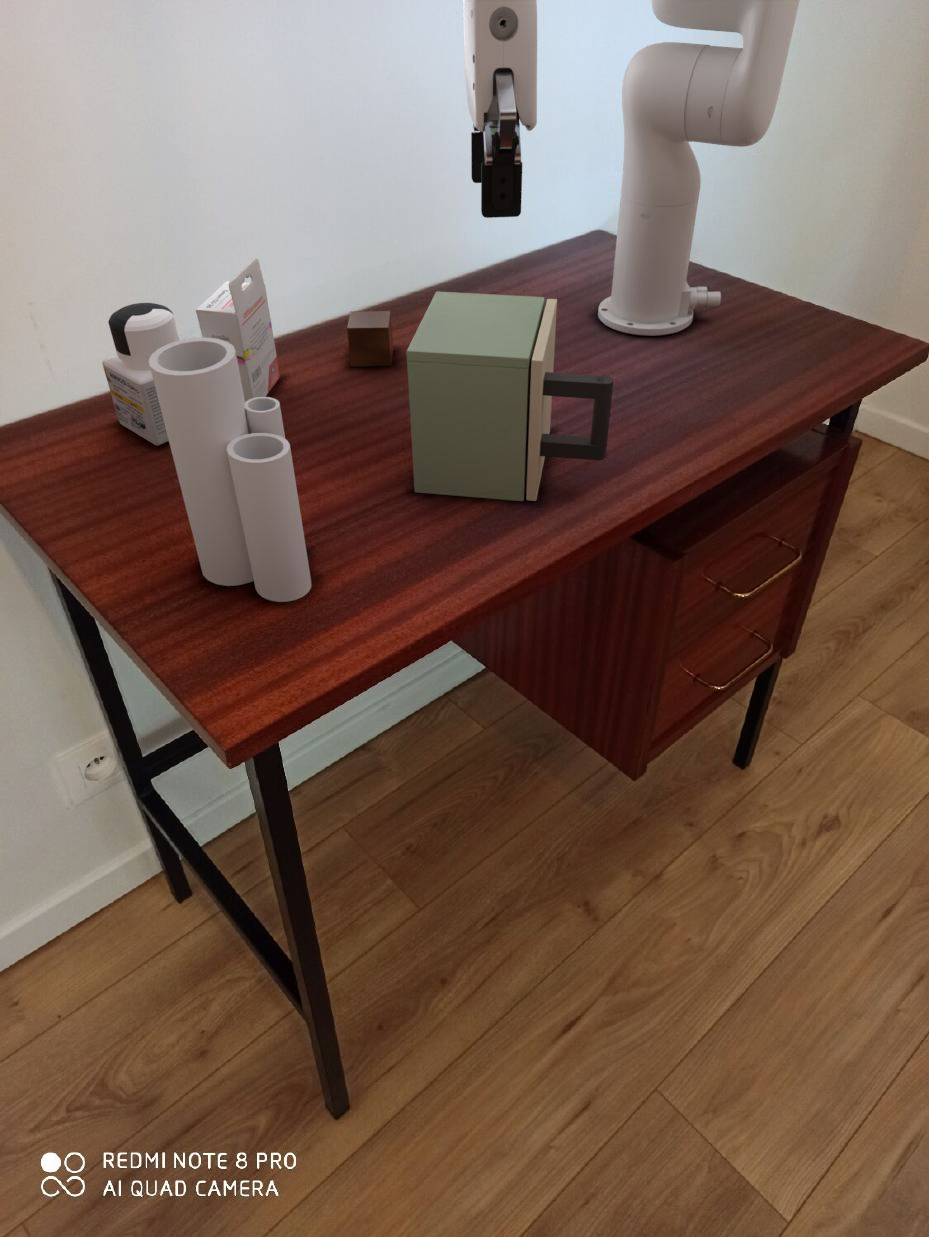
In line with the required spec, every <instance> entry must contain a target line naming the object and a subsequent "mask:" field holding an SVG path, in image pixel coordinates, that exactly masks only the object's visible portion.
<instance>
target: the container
mask: <svg viewBox="0 0 929 1237" xmlns="http://www.w3.org/2000/svg"><path fill="white" fill-rule="evenodd" d="M107 323H108V326H109V331H110V334H111V337H112V341H113V345H114V348H115V351H116V355H113V356H111V357H108V358H105V359H103V360H102V361H101V362H102V363H101V364H102V368H103V371H104V375H105V378H106V381H107V385H108V388H109V392H110V395H111V398H112V402H113V406H114V409H115V412H116V415H117V419H118V422H119V424H120V425H122V426H123V427H125V428H127V429H128V430H130V431H132V432H133V433H135V434H137V435H138V436H139V437H141V438H142V439H144V440H146V441H147V442H149V443H151V444H152V445H154V446H162V445H163V444H165V443H169V440H168V436H167V432H166V428H165V424H164V420H163V416H162V412H161V408H160V404H159V400H158V396H157V392H156V388H155V384H154V381H153V377H152V373H151V369H150V365H149V359H150V356H151V355H152V354H153V353H154V352H155V351H156V350H157V349H159V348H161V347H163V346H165V345H167V344H170V343H173V342H176V341H179V340H180V338H179V333H178V329H177V325H176V320H175V316H174V313H173V310H171V309H170V308H169V307H167V306H166V305H163V304H159V303H155V302H138V303H137V302H136V303H132V304H129V305H125V306H123V307H121V308H119V309H118V310H116V311H114V312H113V313H112V314H111V315H110V317H109V319H108V322H107Z"/></svg>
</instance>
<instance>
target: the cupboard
mask: <svg viewBox="0 0 929 1237" xmlns="http://www.w3.org/2000/svg"><path fill="white" fill-rule="evenodd" d="M545 300H546V298H545V297H544V296H532V295H531V296H528V295H513V294H512V295H511V294H510V295H509V294H492V293H491V294H489V293H476V292H475V293H474V292H472V293H471V292H453V291H435V293H434V295H433V296H432V299H431V300H430V301H431V302H430V303H429V304H428V307H427V309H426V311H425V313H424V315H423V317H422V319H421V321H420V323H419V325H418V327H417V329H416V331H415V333H414V335H413V336H412V339H411V341H410V343H409V346H408V347H407V349H406V365H407V382H408V383H407V384H408V400H409V419H410V436H411V452H412V454H411V455H412V469H413V488H414V490H413V491H414V493H419V494H429V495H430V494H431V495H441V496H442V495H443V496H453V497H454V496H455V497H465V498H466V497H468V498H479V499H489V500H503V501H516V502H524V501H525V498H526V497H525V496H526V493H527V466H528V439H529V413H530V386H531V360H532V357H533V353H534V349H535V345H536V341H537V337H538V333H539V329H540V325H541V321H542V317H543V314H544V310H545Z"/></svg>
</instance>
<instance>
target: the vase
mask: <svg viewBox="0 0 929 1237" xmlns="http://www.w3.org/2000/svg"><path fill="white" fill-rule="evenodd" d="M149 365H150V369H151V373H152V377H153V381H154V384H155V388H156V392H157V396H158V400H159V404H160V408H161V412H162V416H163V420H164V424H165V428H166V432H167V436H168V440H169V441H168V443H169V447H170V451H171V456H172V459H173V463H174V467H175V470H176V474H177V475H176V476H177V478H178V482H179V486H180V490H181V495H182V499H183V502H184V506H185V510H186V513H187V514H186V515H187V517H188V521H189V526H190V530H191V533H192V537H193V541H194V545H195V546H194V547H195V550H196V553H197V558H198V561H199V564H200V569H201V572H202V576H203V577H204V578H205V579H206V580H207V581H209V582H211V583H213V584H215V585H217V586H225V587H231V586H232V587H233V586H241V585H245V584H249V583H252V582H253V583H254V588H255V591H256V592H257V594H258V595H259V596H261V597H262V598H264V599H265V600H268V601H270V602H271V601H272V602H278V603H283V602H285V603H286V602H287V603H288V602H292V601H297V600H298V599H301V598H304V597H305V596H306V595H307V594H308V593H310V590H311V589H312V578H311V571H310V566H309V564H310V563H309V559H308V552H307V546H306V540H305V533H304V532H305V531H304V527H303V521H302V514H301V508H300V507H301V506H300V500H299V494H298V489H297V488H298V487H297V482H296V475H295V468H294V462H293V456H292V449H291V443H290V442H289V441H288V439H286V435H285V429H284V428H285V427H284V422H283V421H284V420H283V415H282V410H281V403H280V401H279V400H278V399H277V398H274V397H270V396H266V397H256V398H252V399H249V400H248V401H246V402H245V399H244V394H243V389H242V383H241V378H240V373H239V367H238V362H237V357H236V351H235V349H234V347H233V345H231V344H230V343H228V342H227V341H224V340H220V339H216V338H202V337H191V338H186V339H179V341H176V342H173V343H170V344H167V345H165V346H163V347H161V348H159V349H157V350H156V351H155V352H154V353H153V354H152V355H151V356H150V359H149Z"/></svg>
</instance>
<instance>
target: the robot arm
mask: <svg viewBox="0 0 929 1237" xmlns="http://www.w3.org/2000/svg"><path fill="white" fill-rule="evenodd" d="M800 1H801V0H651V8H652V13H653V14H654V16H655V18H656V19H657V20H658V21H659V22H661V23H663V24H664V25H667V26H670V27H674V28H680V29H686V30H687V29H688V30H699V31H713V32H724V33H725V32H726V33H738V34H739V35H741V37H742V47H732V46H722V45H721V46H718V45H710V44H702V43H692V42H691V43H689V42H688V43H687V42H677V41H674V42H673V41H666V42H665V41H664V42H657V43H652V44H650V45H646V46H644V47H643V48H641V49H639V50H638V51H637V52H636V53H635V54H634V55H632V58H631V59H630V60H629V62H628V63H627V66H626V68H625V71H624V73H623V79H622V88H621V107H622V121H623V122H622V123H623V162H622V164H623V165H622V178H621V189H620V199H619V208H618V220H617V231H616V240H615V241H616V242H615V252H614V262H613V272H612V273H613V274H612V284H611V294H610V296H608V297H606V298H604V299H603V300H602V301H601V302H600V303H599V305H598V308H597V317H598V319H599V320H600V322H601V323H602V324H603V325H605V326H606V327H608V328H610V329H612V330H615V331H617V332H621V333H623V334H629V335H634V336H645V337H654V336H655V337H656V336H667V335H671V334H676V333H679V332H681V331H684V330H685V329H687V328H688V327H690V325H691V324H692V322H693V320H694V310H695V309H696V308H697V307H705V308H718V307H720V305H721V300H722V293H721V291H708V287H707V286H694V287H692V286H690V284H689V283H688V281H687V278H688V273H689V266H690V261H691V260H690V259H691V252H692V246H693V245H692V244H693V240H694V239H693V238H694V231H695V225H696V218H697V211H698V205H699V198H700V191H701V180H702V179H701V171H700V166H699V163H698V160H697V158H696V155H695V153H694V151H693V149H692V147H691V145H690V143H701V144H710V145H716V146H717V145H718V146H726V147H727V146H728V147H739V148H740V147H741V148H743V147H749V146H753V145H755V144H756V143H758V142H760V141H761V140H762V139H763V138H764V136H765V135H766V133H767V132H768V130H769V128H770V125H771V122H772V120H773V117H774V114H775V110H776V107H777V102H778V99H779V94H780V90H781V87H782V82H783V77H784V72H785V68H786V64H787V58H788V54H789V50H790V45H791V41H792V37H793V32H794V27H795V23H796V19H797V14H798V9H799V5H800ZM537 6H538V2H537V0H462V8H463V9H462V12H463V14H462V15H463V18H462V20H463V57H464V76H465V89H466V90H465V91H466V101H467V108H468V112H469V115H470V118H471V122H472V129H473V131H471V133H470V137H471V138H470V144H471V146H470V147H471V148H470V149H471V150H470V152H471V156H470V157H471V161H470V164H471V171H470V172H471V175H470V176H471V181H472V182H473V183H475V184H480V185H481V186H480V192H481V193H480V209H481V210H480V212H481V216H482V217H483V218H486V219H492V218H517V217H519V216H520V215H521V213H522V194H523V192H522V191H523V190H522V189H523V162H522V147H521V146H522V145H521V127H520V125H522V127H523V126H524V127H525V129H526V131H528V132H531V131H533V130H534V128H535V127H536V126H537V122H538V109H537V108H538V7H537ZM520 123H521V124H520Z"/></svg>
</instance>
